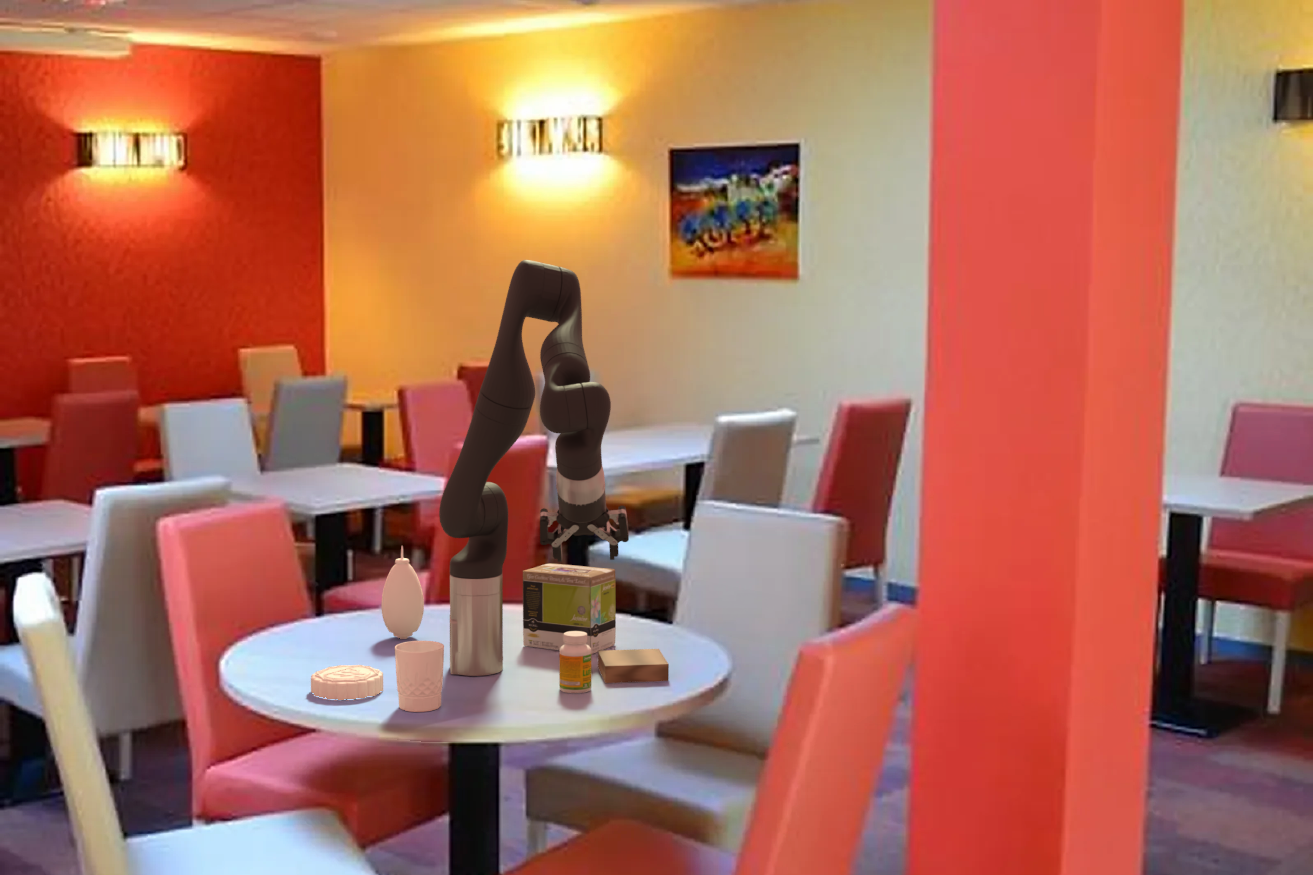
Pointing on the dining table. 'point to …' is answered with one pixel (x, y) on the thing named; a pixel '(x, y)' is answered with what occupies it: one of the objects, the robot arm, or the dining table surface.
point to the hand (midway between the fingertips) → (586, 557)
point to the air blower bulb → (402, 599)
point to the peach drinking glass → (419, 675)
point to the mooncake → (347, 682)
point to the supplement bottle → (575, 663)
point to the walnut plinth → (633, 665)
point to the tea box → (568, 605)
